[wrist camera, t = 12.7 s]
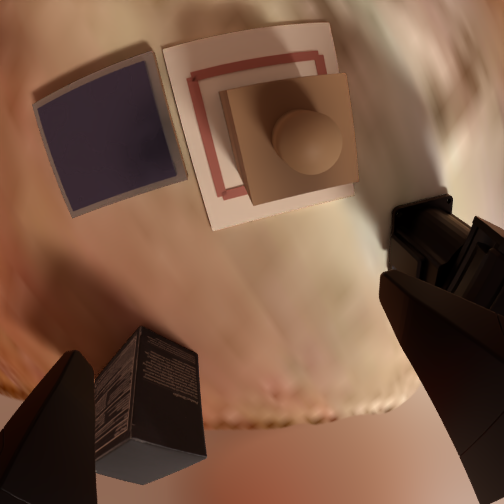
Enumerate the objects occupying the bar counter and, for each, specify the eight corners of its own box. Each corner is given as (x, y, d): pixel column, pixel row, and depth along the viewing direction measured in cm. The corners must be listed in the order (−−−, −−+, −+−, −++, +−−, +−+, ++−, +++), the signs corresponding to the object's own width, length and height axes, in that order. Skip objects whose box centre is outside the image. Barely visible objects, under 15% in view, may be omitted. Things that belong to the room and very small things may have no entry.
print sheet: (327, 23, 14) (329, 22, 14) (352, 194, 20) (355, 196, 20) (163, 50, 14) (162, 49, 13) (212, 229, 20) (212, 231, 20)
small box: (146, 402, 29) (144, 488, 20) (93, 378, 26) (78, 468, 17) (202, 354, 26) (212, 461, 17) (139, 322, 23) (125, 438, 14)
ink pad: (154, 52, 14) (150, 49, 13) (188, 175, 18) (187, 181, 17) (39, 103, 14) (29, 105, 12) (77, 212, 18) (70, 220, 17)
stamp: (301, 76, 16) (363, 72, 9) (314, 153, 18) (375, 192, 12) (218, 91, 15) (229, 90, 9) (237, 170, 18) (259, 220, 12)
